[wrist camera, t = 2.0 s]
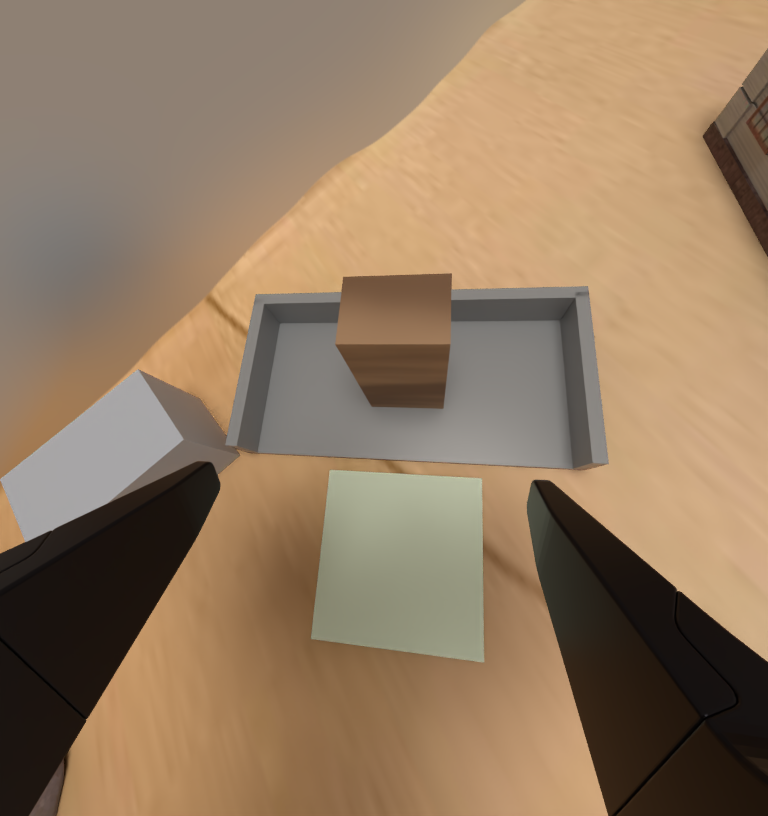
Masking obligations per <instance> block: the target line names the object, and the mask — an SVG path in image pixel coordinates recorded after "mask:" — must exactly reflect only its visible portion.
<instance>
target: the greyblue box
mask: <svg viewBox="0 0 768 816" xmlns="http://www.w3.org/2000/svg"><path fill="white" fill-rule="evenodd" d="M226 439H227V436H226V435H225V434H224V432H223V431H222V429H221V428H220V427H219V425H218V424H217V422H216V421H215V419H214V418H213V417H212V415H211V414H210V412H209V411H208V410H207V408H206V407H205V405H204V404H203V403H202V401H201V400H200V399H199V398H197V397H195V396H193V395H191V394H189V393H187V392H184V391H182V390H180V389H178V388H176V387H174V386H172V385H170V384H168V383H166V382H164V381H161V380H159V379H157V378H155V377H153V376H151V375H149V374H147V373H145V372H143V371H141V370H136V371H135V372H134V373H133V374H131V375H130V376H129V377H128V378H126V379H125V380H124V381H123V382H121V383H120V384H119V385H118V386H116V387H115V388H114V389H113V390H111V391H110V392H109V393H108V394H106V395H105V396H104V397H103V398H101V399H100V400H99V401H98V402H96V403H95V404H94V405H93V406H91V407H90V408H89V409H88V410H86V411H85V412H84V413H83V414H81V415H80V416H79V417H78V418H76V419H75V420H74V421H73V422H71V423H70V424H69V425H68V426H66V427H65V428H64V429H63V430H61V431H60V432H59V433H58V434H56V435H55V436H54V437H52V438H51V439H50V440H49V441H48V442H46V443H45V444H44V445H42V446H41V447H40V448H39V449H37V450H36V451H35V452H34V453H32V454H31V455H30V456H29V457H28V458H26V459H25V460H24V461H22V462H21V463H20V464H19V465H17V466H16V467H15V468H14V469H12V470H11V471H10V472H9V473H7V474H6V475H5V476H4V477H2V478H1V479H0V480H1V483H2V485H3V488H4V490H5V493H6V495H7V497H8V500H9V502H10V505H11V507H12V510H13V512H14V515H15V517H16V520H17V522H18V525H19V527H20V530H21V532H22V535H23V537H24V540H25V542H27V541H29V540H31V539H33V538H35V537H37V536H40V535H42V534H44V533H46V532H48V531H53V530H54V529H55V528H57V527H59V526H61V525H63V524H65V523H67V522H69V521H71V520H74V519H76V518H78V517H80V516H82V515H84V514H86V513H88V512H90V511H93V510H95V509H97V508H99V507H101V506H103V505H105V504H107V503H109V502H112V501H114V500H116V499H118V498H120V497H122V496H124V495H126V494H128V493H131V492H133V491H135V490H137V489H139V488H141V487H143V486H145V485H147V484H150V483H152V482H154V481H156V480H158V479H160V478H162V477H164V476H166V475H169V474H171V473H173V472H175V471H177V470H179V469H181V468H183V467H185V466H188V465H190V464H192V463H194V462H196V461H209V462H212V463H213V464H214V467H215V469H216V472H217V475H218V474H219V473H220V472H221V471H222V470H224V469H225V468H226V467H227V466H228V465H229V464H231V463H232V462H233V461H234V460H235V459H236V458H238V457H239V456H240V455H239V453H238V452H237V450H236V449H235V448H232V447H229V446H226V445H225V444H226Z"/></svg>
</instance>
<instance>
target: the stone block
mask: <svg viewBox="0 0 768 816" xmlns="http://www.w3.org/2000/svg"><path fill="white" fill-rule="evenodd" d="M63 779H64V759H63V761H62V762H61V764H60V766H59V767H58V769H57V771H56V772H55V774H54V776H53V777H52V779H51V781H50V782H49V784H48V786H47V787H46V789H45V791H44V792H43V794H42V796H41V797H40V799H39V800H38V802H37V804H36V805H35V807H34V809H33V810H32V812H31V814H30V815H29V816H56V814H57V809H58V804H59V799H60V794H61V790H62V786H63Z"/></svg>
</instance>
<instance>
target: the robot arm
mask: <svg viewBox="0 0 768 816" xmlns="http://www.w3.org/2000/svg"><path fill="white" fill-rule="evenodd" d="M219 491H220V481H219V478H218V475H217V472H216V469H215V467H214V464H213V463H212V462H209V461H196V462H194V463H192V464H190V465H188V466H185V467H183V468H181V469H179V470H177V471H175V472H173V473H171V474H169V475H166V476H164V477H162V478H160V479H158V480H156V481H154V482H152V483H150V484H147V485H145V486H143V487H141V488H139V489H137V490H135V491H133V492H131V493H128V494H126V495H124V496H122V497H120V498H118V499H116V500H114V501H112V502H109V503H107V504H105V505H103V506H101V507H99V508H97V509H95V510H93V511H90V512H88V513H86V514H84V515H82V516H80V517H78V518H76V519H74V520H71V521H69V522H67V523H65V524H63V525H61V526H59V527H57V528H55V529H54V530H53V531H48V532H46V533H44V534H42V535H40V536H37V537H35V538H33V539H31V540H29V541H27V542H25V543H22V544H20V545H18V546H16V547H14V548H12V549H9V550H7V551H5V552H3V553H1V554H0V816H29V815H30V814H31V812H32V810H33V809H34V807H35V805H36V804H37V802H38V800H39V799H40V797H41V796H42V794H43V792H44V791H45V789H46V787H47V786H48V784H49V782H50V781H51V779H52V777H53V776H54V774H55V772H56V771H57V769H58V767H59V766H60V764H61V762H62V761H63V759H64V757H65V756H66V754H67V752H68V751H69V749H70V747H71V746H72V744H73V742H74V741H75V739H76V738H77V736H78V734H79V733H80V731H81V729H82V728H83V726H84V724H85V723H86V719H87V718H88V717H89V716H90V714H91V712H92V711H93V709H94V707H95V706H96V704H97V702H98V701H99V699H100V697H101V696H102V694H103V692H104V691H105V689H106V687H107V686H108V684H109V682H110V681H111V679H112V677H113V676H114V674H115V672H116V671H117V669H118V668H119V666H120V664H121V663H122V661H123V659H124V658H125V656H126V654H127V653H128V651H129V649H130V648H131V646H132V644H133V643H134V641H135V639H136V638H137V636H138V634H139V633H140V631H141V629H142V628H143V626H144V625H145V623H146V621H147V620H148V618H149V616H150V615H151V613H152V611H153V610H154V608H155V606H156V605H157V603H158V601H159V600H160V598H161V596H162V595H163V593H164V591H165V590H166V588H167V586H168V585H169V583H170V581H171V580H172V578H173V577H174V575H175V573H176V572H177V570H178V568H179V567H180V565H181V563H182V562H183V560H184V558H185V557H186V555H187V553H188V552H189V550H190V548H191V547H192V545H193V543H194V542H195V540H196V538H197V536H198V534H199V532H200V530H201V528H202V526H203V524H204V522H205V520H206V518H207V516H208V514H209V512H210V510H211V508H212V506H213V503H214V501H215V499H216V497H217V495H218V493H219ZM527 515H528V521H529V527H530V532H531V538H532V544H533V550H534V556H535V562H536V567H537V571H538V575H539V579H540V582H541V586H542V589H543V593H544V596H545V600H546V603H547V606H548V610H549V613H550V617H551V620H552V624H553V627H554V631H555V634H556V637H557V641H558V644H559V648H560V651H561V655H562V658H563V661H564V665H565V668H566V672H567V675H568V679H569V682H570V685H571V689H572V692H573V696H574V699H575V703H576V706H577V709H578V713H579V716H580V720H581V723H582V727H583V730H584V734H585V737H586V740H587V744H588V747H589V751H590V754H591V758H592V761H593V764H594V768H595V771H596V775H597V778H598V782H599V785H600V788H601V792H602V795H603V799H604V802H605V806H606V809H607V813H608V816H768V662H767V661H766V660H765V659H763V658H762V657H761V656H759V655H758V654H757V653H756V652H754V651H753V650H752V649H750V648H749V647H748V646H747V645H745V644H744V643H743V642H741V641H740V640H739V639H738V638H736V637H735V636H734V635H732V634H731V633H730V632H729V631H727V630H726V629H725V628H724V627H723V626H721V625H720V624H719V623H718V622H716V621H715V620H714V619H713V618H712V617H710V616H709V615H708V614H707V613H706V612H704V611H703V610H702V609H701V608H699V607H698V606H697V605H696V604H695V603H694V602H692V601H691V600H690V599H689V598H688V597H687V596H685V595H684V594H683V593H682V592H680V591H677V589H676V587H675V586H673V585H672V584H671V583H670V582H669V581H668V580H666V579H665V578H664V577H663V576H662V575H660V574H659V573H658V572H657V571H656V570H655V569H653V568H652V567H651V566H650V565H649V564H648V563H646V562H645V561H644V560H643V559H642V558H640V557H639V556H638V555H637V554H636V553H635V552H633V551H632V550H631V549H630V548H629V547H628V546H626V545H625V544H624V543H623V542H622V541H621V540H619V539H618V538H617V537H616V536H615V535H613V534H612V533H611V532H610V531H609V530H608V529H606V528H605V527H604V526H603V525H602V524H601V523H599V522H598V521H597V520H596V519H595V518H593V517H592V516H591V515H590V514H589V513H588V512H586V511H585V510H584V509H583V508H582V507H581V506H579V505H578V504H577V503H576V502H575V501H574V500H572V499H571V498H570V497H569V496H568V495H566V494H565V493H564V492H563V491H562V490H561V489H559V488H558V487H557V486H556V485H555V484H554V483H552V482H551V481H548V480H534V481H532V483H531V487H530V492H529V497H528V501H527Z"/></svg>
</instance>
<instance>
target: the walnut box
mask: <svg viewBox="0 0 768 816" xmlns="http://www.w3.org/2000/svg"><path fill="white" fill-rule="evenodd" d="M451 284H452V274H422V275H390V276H358V277H343V284H342V292H341V300H340V309H339V317H338V325H337V333H336V342H335V345H336V347H337V348H338V350H339V352H340V353H341V355H342V357H343V359H344V360H345V362H346V364H347V365H348V367H349V369H350V371H351V372H352V374H353V376H354V377H355V379H356V381H357V382H358V384H359V386H360V388H361V389H362V391H363V393H364V394H365V396H366V398H367V400H368V401H369V403H370V405H371V406H372V407H398V408H434V409H443V408H444V399H445V390H446V381H447V372H448V363H449V354H450V345H451Z"/></svg>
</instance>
